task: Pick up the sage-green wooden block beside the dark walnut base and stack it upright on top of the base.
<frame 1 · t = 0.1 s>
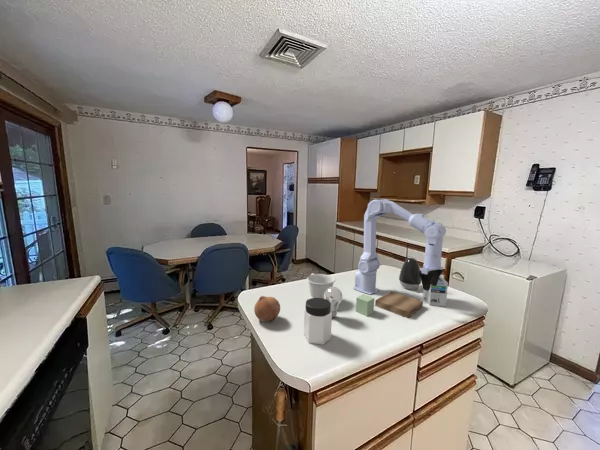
hand: (429, 287, 104), 10 cm above the table, tool pointing down, fingers open, 7 cm apart
teacup: (318, 299, 115), on the table
black egg-shaped speaker: (409, 287, 130), on the table
walnut base: (398, 306, 109), on the table
light bulb: (332, 317, 99), on the table
green block: (364, 312, 104), on the table
onion: (267, 320, 97), on the table
jar: (317, 337, 86), on the table
light bulb box: (433, 301, 116), on the table
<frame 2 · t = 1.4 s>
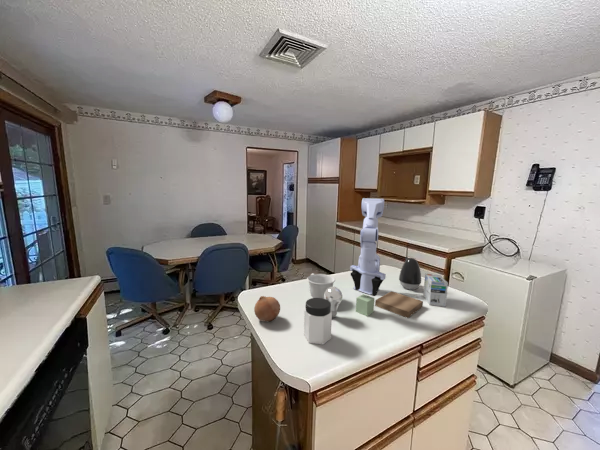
hand: (365, 292, 103), 8 cm above the table, tool pointing down, fingers open, 7 cm apart
nothing on the table moved.
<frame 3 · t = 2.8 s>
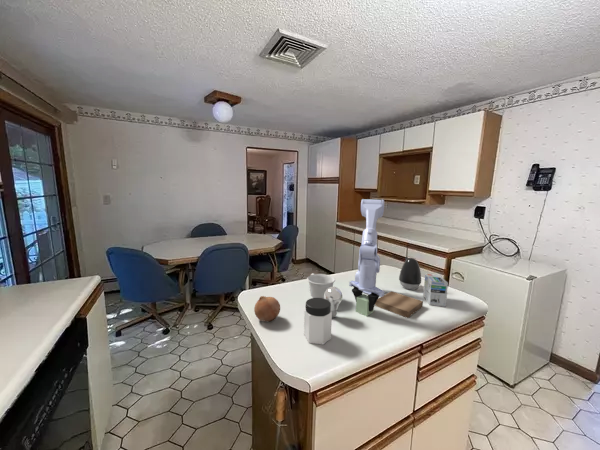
hand: (364, 308, 104), 2 cm above the table, tool pointing down, fingers closed on green block, 5 cm apart
green block: (364, 311, 104), on the table, touching gripper
everything else where it was.
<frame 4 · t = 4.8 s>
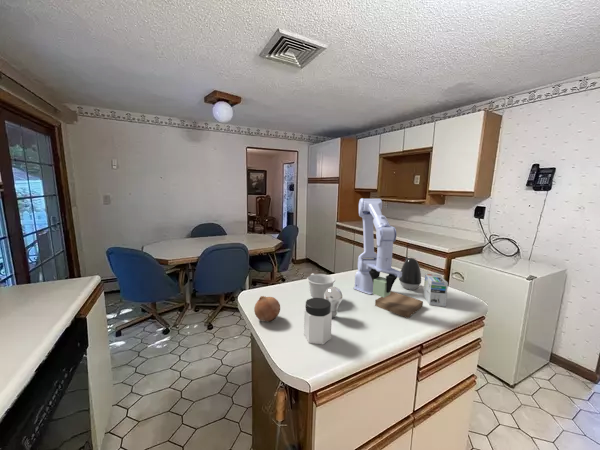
hand: (382, 289, 105), 8 cm above the table, tool pointing down, fingers closed on green block, 5 cm apart
green block: (381, 293, 106), point 7 cm above the table, touching gripper
everything else where it was.
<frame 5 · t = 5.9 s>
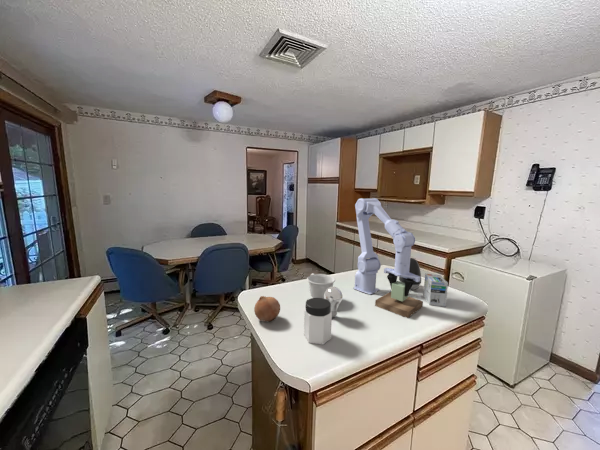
hand: (399, 293, 109), 6 cm above the table, tool pointing down, fingers closed on green block, 5 cm apart
green block: (399, 297, 109), point 4 cm above the table, touching gripper
everything else where it was.
when the fingers open (6 cm above the table, at t = 6.8 s): green block drops 1 cm, resting on walnut base.
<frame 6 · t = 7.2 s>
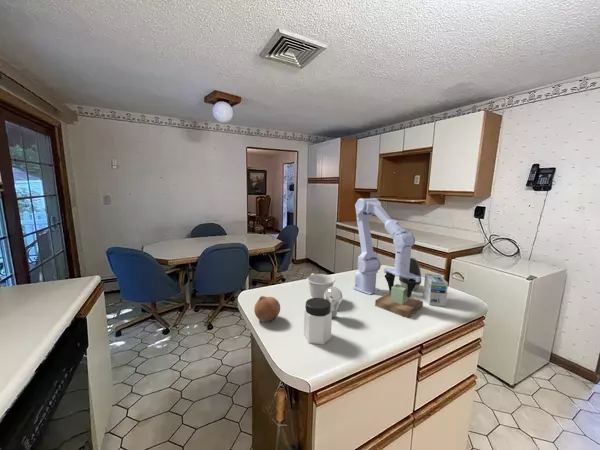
hand: (399, 293, 109), 6 cm above the table, tool pointing down, fingers open, 7 cm apart
green block: (398, 300, 109), point 2 cm above the table, touching walnut base
everything else where it was.
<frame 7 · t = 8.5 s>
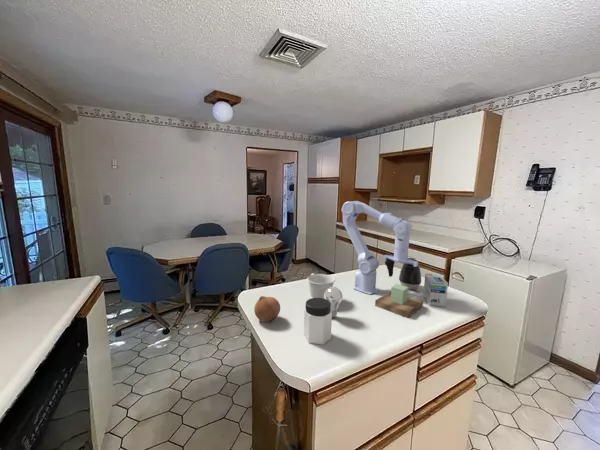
hand: (398, 278, 116), 9 cm above the table, tool pointing down, fingers open, 7 cm apart
nothing on the table moved.
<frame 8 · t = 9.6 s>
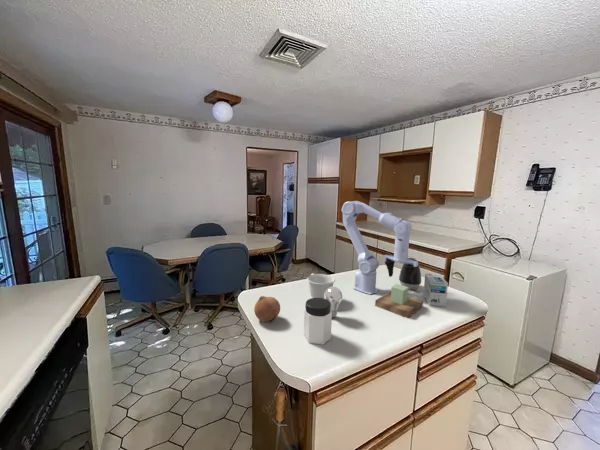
hand: (398, 278, 116), 9 cm above the table, tool pointing down, fingers open, 7 cm apart
nothing on the table moved.
at the end: green block inside the target area on the walnut base (0.2 cm from its centre), point 2.5 cm above the walnut base's base; green block tilted 0°; the gripper is holding nothing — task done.
